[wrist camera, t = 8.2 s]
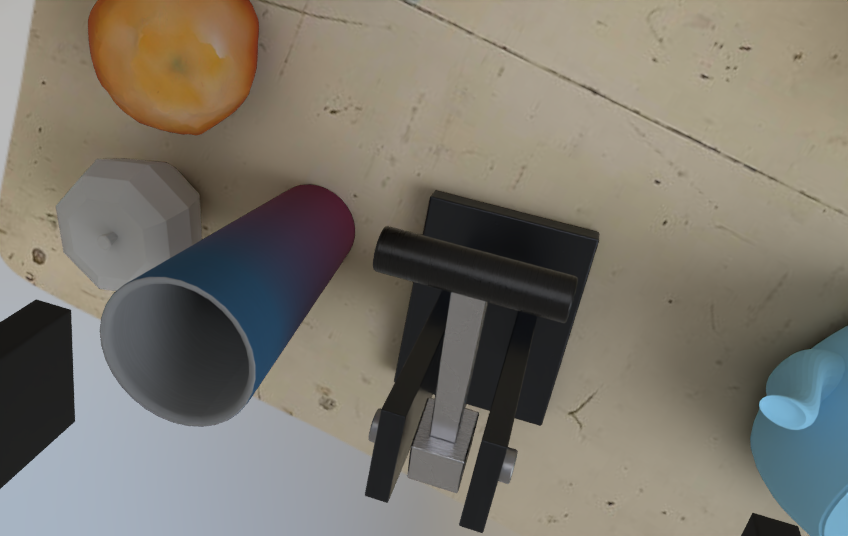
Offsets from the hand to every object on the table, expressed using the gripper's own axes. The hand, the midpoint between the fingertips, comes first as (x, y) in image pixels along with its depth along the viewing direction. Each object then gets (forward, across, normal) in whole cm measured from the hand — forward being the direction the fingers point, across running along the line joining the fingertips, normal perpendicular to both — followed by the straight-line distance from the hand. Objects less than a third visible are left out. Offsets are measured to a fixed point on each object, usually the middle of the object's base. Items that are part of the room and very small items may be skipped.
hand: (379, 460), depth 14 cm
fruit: (+27, -18, 0) cm, 33 cm away
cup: (+27, -11, -8) cm, 30 cm away
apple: (+27, -20, -10) cm, 35 cm away
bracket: (+27, 0, -10) cm, 29 cm away
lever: (+13, 0, -5) cm, 14 cm away
